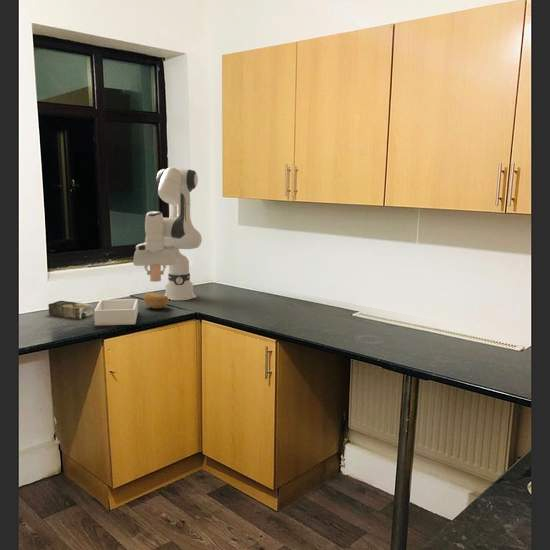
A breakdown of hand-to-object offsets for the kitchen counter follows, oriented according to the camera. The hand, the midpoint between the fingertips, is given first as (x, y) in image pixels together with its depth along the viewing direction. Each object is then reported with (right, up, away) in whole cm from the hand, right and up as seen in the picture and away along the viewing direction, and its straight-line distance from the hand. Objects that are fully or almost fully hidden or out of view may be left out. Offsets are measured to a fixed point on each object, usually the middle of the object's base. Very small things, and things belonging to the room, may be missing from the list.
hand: (155, 274), depth 265 cm
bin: (-18, -21, +1) cm, 28 cm away
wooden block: (0, -3, 0) cm, 3 cm away
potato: (-4, -18, +22) cm, 29 cm away
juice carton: (-43, -20, +6) cm, 48 cm away
